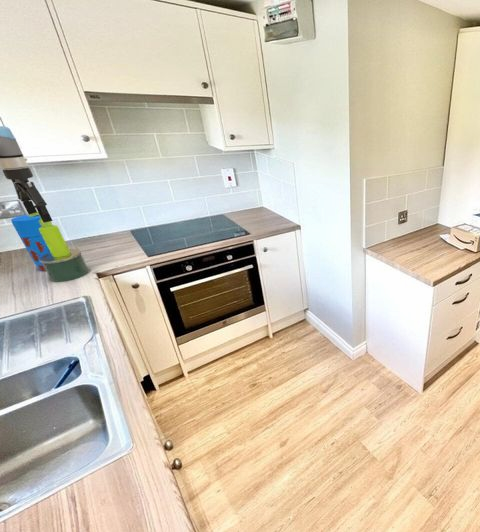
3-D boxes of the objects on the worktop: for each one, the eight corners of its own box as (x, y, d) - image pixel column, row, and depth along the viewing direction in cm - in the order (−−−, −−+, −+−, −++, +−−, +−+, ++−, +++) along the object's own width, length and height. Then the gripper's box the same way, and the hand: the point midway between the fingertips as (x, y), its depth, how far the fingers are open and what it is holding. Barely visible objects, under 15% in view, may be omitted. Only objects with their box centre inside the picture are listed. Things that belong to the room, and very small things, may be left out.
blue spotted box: (56, 260, 163) (31, 213, 152) (74, 262, 162) (50, 214, 151) (31, 270, 154) (3, 220, 142) (50, 272, 152) (23, 222, 141)
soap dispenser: (46, 256, 144) (23, 214, 135) (65, 250, 150) (44, 209, 140) (54, 259, 142) (32, 215, 133) (73, 253, 148) (53, 211, 139)
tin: (58, 284, 142) (46, 264, 138) (44, 277, 148) (33, 257, 143) (95, 272, 153) (86, 252, 148) (81, 265, 159) (72, 246, 154)
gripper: (41, 170, 126) (65, 221, 136) (16, 163, 136) (40, 211, 146) (14, 173, 120) (41, 226, 130) (-10, 166, 130) (17, 216, 140)
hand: (41, 218), depth 138 cm, fingers open, 13 cm apart
